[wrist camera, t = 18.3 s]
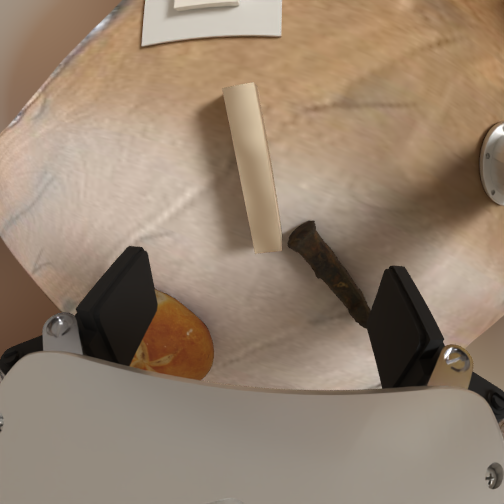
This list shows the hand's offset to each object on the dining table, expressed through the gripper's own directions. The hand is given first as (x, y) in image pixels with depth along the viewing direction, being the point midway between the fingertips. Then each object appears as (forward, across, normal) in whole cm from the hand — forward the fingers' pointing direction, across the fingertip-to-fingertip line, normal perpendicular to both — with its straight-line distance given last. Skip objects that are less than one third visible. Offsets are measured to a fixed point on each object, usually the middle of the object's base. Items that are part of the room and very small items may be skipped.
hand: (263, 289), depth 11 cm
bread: (+24, +19, +28) cm, 41 cm away
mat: (+23, +8, -22) cm, 33 cm away
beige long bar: (+24, +2, 0) cm, 24 cm away
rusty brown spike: (+24, -10, +14) cm, 29 cm away
